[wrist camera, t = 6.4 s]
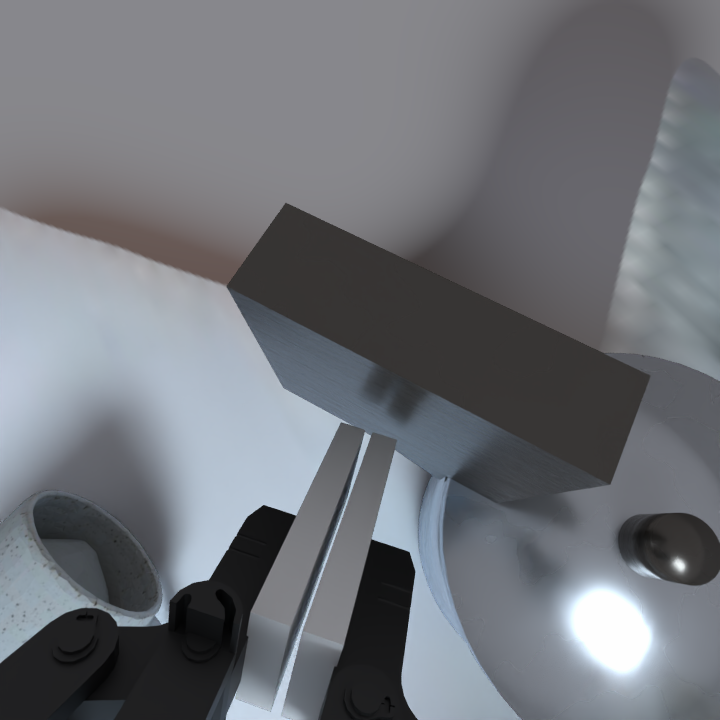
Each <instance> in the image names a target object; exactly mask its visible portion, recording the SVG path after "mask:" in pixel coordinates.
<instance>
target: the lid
mask: <svg viewBox="0 0 720 720" xmlns="http://www.w3.org/2000/svg"><path fill="white" fill-rule="evenodd" d="M227 288H228V290H229V292H230V294H231V295H232V297H233V299H234V301H235V302H236V304H237V306H238V308H239V310H240V311H241V313H242V315H243V317H244V318H245V320H246V322H247V324H248V326H249V327H250V329H251V331H252V333H253V334H254V336H255V338H256V340H257V342H258V343H259V345H260V347H261V349H262V350H263V352H264V354H265V356H266V358H267V359H268V361H269V363H270V365H271V367H272V368H273V370H274V372H275V374H276V375H277V377H278V379H279V381H280V383H281V384H282V386H283V388H285V389H287V390H288V391H290V392H292V393H294V394H296V395H298V396H299V397H301V398H303V399H305V400H307V401H309V402H310V403H312V404H314V405H316V406H318V407H320V408H322V409H323V410H325V411H327V412H329V413H331V414H333V415H334V416H336V417H338V418H340V419H342V420H344V421H345V422H347V423H349V424H351V425H353V426H355V427H358V428H361V429H364V430H365V432H366V433H367V434H369V435H372V433H373V432H374V433H377V434H380V435H384V436H387V437H390V438H393V439H397V442H396V446H395V449H397V450H399V451H401V452H402V453H404V454H406V455H408V456H410V457H412V458H413V459H415V460H417V461H419V462H421V463H423V464H424V465H426V466H428V467H430V468H432V469H434V470H435V471H437V472H439V473H441V474H443V475H445V476H447V480H446V484H445V488H444V492H443V496H442V504H441V513H440V521H439V533H440V556H441V563H442V571H443V578H444V581H445V585H446V589H447V593H448V597H449V601H450V605H451V607H452V610H453V613H454V615H455V618H456V621H457V623H458V626H459V628H460V631H461V633H462V635H463V637H464V639H465V641H466V643H467V645H468V647H469V649H470V651H471V652H472V654H473V656H474V658H475V660H476V661H477V663H478V664H479V666H480V667H481V669H482V670H483V672H484V673H485V675H486V676H487V678H488V679H489V681H490V682H491V684H492V685H493V686H494V688H495V689H496V690H497V691H498V692H499V694H500V695H501V696H502V697H503V698H504V699H505V701H506V702H507V703H508V704H509V705H510V706H511V708H512V709H513V710H514V711H515V712H516V713H517V715H518V716H519V717H520V718H521V719H522V720H720V381H718V380H716V379H714V378H712V377H710V376H708V375H707V374H704V373H702V372H699V371H697V370H694V369H692V368H689V367H687V366H684V365H682V364H678V363H675V362H671V361H668V360H664V359H661V358H656V357H650V356H644V355H638V354H625V353H602V352H600V351H598V350H596V349H593V348H591V347H589V346H587V345H585V344H583V343H581V342H579V341H576V340H574V339H572V338H570V337H568V336H566V335H564V334H562V333H559V332H557V331H555V330H553V329H551V328H549V327H547V326H545V325H543V324H541V323H538V322H536V321H534V320H532V319H530V318H528V317H526V316H524V315H521V314H519V313H517V312H515V311H513V310H511V309H509V308H507V307H505V306H503V305H500V304H498V303H496V302H494V301H492V300H490V299H488V298H486V297H483V296H481V295H479V294H477V293H475V292H473V291H471V290H469V289H467V288H464V287H462V286H460V285H458V284H456V283H454V282H452V281H450V280H448V279H445V278H443V277H441V276H439V275H437V274H435V273H433V272H431V271H428V270H427V269H424V268H422V267H420V266H418V265H416V264H414V263H412V262H409V261H407V260H405V259H403V258H401V257H399V256H397V255H395V254H393V253H390V252H388V251H386V250H384V249H382V248H380V247H378V246H376V245H374V244H371V243H369V242H367V241H365V240H363V239H361V238H359V237H357V236H355V235H353V234H350V233H348V232H346V231H344V230H342V229H340V228H338V227H336V226H333V225H331V224H329V223H327V222H325V221H323V220H321V219H319V218H317V217H315V216H312V215H310V214H308V213H306V212H304V211H302V210H300V209H297V208H296V207H293V206H291V205H289V204H287V203H285V205H284V206H283V208H282V209H281V210H280V212H279V213H278V215H277V216H276V217H275V219H274V220H273V222H272V223H271V224H270V226H269V227H268V229H267V230H266V232H265V233H264V234H263V236H262V237H261V239H260V240H259V242H258V243H257V244H256V246H255V247H254V248H253V250H252V251H251V253H250V254H249V255H248V257H247V258H246V260H245V261H244V262H243V264H242V265H241V267H240V268H239V269H238V271H237V272H236V274H235V275H234V277H233V278H232V279H231V281H230V282H229V284H228V285H227Z"/></svg>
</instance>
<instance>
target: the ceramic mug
mask: <svg viewBox="0 0 720 720" xmlns="http://www.w3.org/2000/svg"><path fill="white" fill-rule="evenodd" d="M162 595H163V594H162V588H161V583H160V580H159V577H158V573H157V571H156V569H155V567H154V565H153V563H152V562H151V560H150V558H149V557H148V556H147V554H146V552H145V551H144V549H143V547H142V546H141V545H140V543H139V542H138V541H137V540H136V539H135V538H134V536H133V535H132V534H131V533H130V532H129V530H128V529H126V528H125V527H124V526H123V525H122V524H121V523H120V522H119V521H118V520H117V519H115V518H114V517H112V516H111V515H110V514H109V513H108V512H107V511H105V510H104V509H102V508H101V507H99V506H97V505H96V504H95V503H93V502H92V501H90V500H86V499H84V498H82V497H79V496H78V495H75V494H71V493H68V492H63V491H59V490H46V491H42V492H39V493H36V494H34V495H32V496H31V497H30V498H28V499H27V500H26V501H24V502H23V503H22V504H21V505H20V506H19V507H18V508H17V509H16V510H15V511H14V512H12V513H11V514H10V515H9V516H8V517H7V518H6V519H5V520H4V521H3V522H2V523H1V524H0V663H1V662H2V661H3V660H4V659H6V658H7V657H8V656H9V655H11V654H12V653H13V652H14V651H16V650H17V649H18V648H19V647H20V646H22V645H23V644H24V643H25V642H27V641H28V640H29V639H30V638H31V637H33V636H34V635H35V634H36V633H38V632H39V631H40V630H41V629H42V628H44V627H45V626H46V625H47V624H49V623H50V622H51V621H53V620H55V619H56V618H58V617H59V616H61V615H63V614H64V613H66V612H70V611H73V610H76V609H80V608H98V609H101V610H103V611H105V612H108V613H109V614H110V615H111V616H112V617H113V618H114V620H115V621H116V622H117V626H146V627H148V626H158V625H161V623H160V622H159V620H158V619H157V618H156V617H155V615H156V613H157V612H158V611H159V609H160V606H161V603H162Z"/></svg>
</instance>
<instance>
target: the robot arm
mask: <svg viewBox="0 0 720 720" xmlns="http://www.w3.org/2000/svg"><path fill="white" fill-rule="evenodd" d="M364 433H365V430H364V429H361V428H358V427H354V426H351V425H348V424H345V423H341V424H340V426H339V428H338V430H337V432H336V434H335V436H334V438H333V440H332V442H331V444H330V447H329V449H328V451H327V453H326V455H325V457H324V459H323V461H322V463H321V465H320V468H319V470H318V472H317V474H316V476H315V478H314V480H313V482H312V484H311V486H310V488H309V491H308V493H307V495H306V497H305V499H304V501H303V503H302V505H301V507H300V509H299V512H298V514H297V516H295V515H292V514H289V513H286V512H283V511H280V510H277V509H274V508H271V507H268V506H265V505H263V506H262V507H260V508H259V509H258V510H256V511H255V512H253V513H252V514H251V515H249V516H248V517H247V518H246V520H245V522H244V523H243V525H242V527H241V528H240V530H239V532H238V534H237V536H236V537H235V538H234V540H233V541H232V543H231V545H230V546H229V549H228V550H227V551H226V553H225V555H224V556H223V558H222V560H221V561H220V563H219V565H218V566H217V568H216V569H215V571H214V573H213V574H212V576H211V578H210V579H209V580H207V581H202V582H196V583H192V584H191V585H189V586H187V587H185V588H183V589H181V590H180V591H179V592H178V593H177V594H176V595H175V596H174V597H173V598H172V599H171V600H170V609H169V623H165V624H162V625H158V626H148V627H146V626H117V622H116V621H115V620H114V618H113V617H112V616H111V615H110V614H109V613H108V612H105V611H103V610H101V609H98V608H80V609H76V610H73V611H70V612H66V613H64V614H63V615H61V616H59V617H58V618H56V619H55V620H53V621H51V622H50V623H49V624H47V625H46V626H45V627H44V628H42V629H41V630H40V631H39V632H38V633H36V634H35V635H34V636H33V637H31V638H30V639H29V640H28V641H27V642H25V643H24V644H23V645H22V646H20V647H19V648H18V649H17V650H16V651H14V652H13V653H12V654H11V655H9V656H8V657H7V658H6V659H4V660H3V661H2V662H1V663H0V720H226V714H227V712H228V709H229V707H230V705H231V702H232V700H233V698H234V696H235V693H236V691H237V693H236V699H238V700H241V701H243V702H246V703H249V704H251V705H254V706H257V707H259V708H262V709H265V710H267V711H270V712H271V709H272V706H273V703H274V701H275V698H276V695H277V692H278V689H279V687H280V684H281V681H282V678H283V676H284V673H285V670H286V667H287V664H288V662H289V659H290V656H291V653H292V650H293V648H294V645H295V642H296V639H297V636H298V634H299V631H300V628H301V625H302V622H303V620H304V617H305V614H306V611H307V609H308V606H309V603H310V600H311V597H312V595H313V592H314V589H315V586H316V583H317V581H318V578H319V575H320V572H321V569H322V567H323V564H324V561H325V558H326V555H327V553H328V550H329V547H330V544H331V542H332V539H333V536H334V533H335V530H336V528H337V525H338V522H339V519H340V516H341V514H342V511H343V508H344V505H345V502H346V500H347V496H348V493H349V489H350V485H351V481H352V478H353V474H354V470H355V466H356V463H357V459H358V455H359V451H360V448H361V444H362V440H363V436H364ZM396 442H397V439H393V438H390V437H387V436H384V435H380V434H377V433H374V432H373V433H372V435H371V438H370V441H369V444H368V447H367V450H366V452H365V455H364V458H363V461H362V464H361V467H360V470H359V472H358V475H357V478H356V481H355V484H354V487H353V489H352V492H351V495H350V498H349V501H348V504H347V506H346V509H345V512H344V515H343V518H342V521H341V523H340V526H339V529H338V532H337V535H336V538H335V540H334V543H333V546H332V549H331V552H330V555H329V558H328V560H327V563H326V566H325V569H324V572H323V575H322V577H321V580H320V583H319V586H318V589H317V592H316V594H315V597H314V600H313V603H312V606H311V609H310V611H309V614H308V617H307V620H306V623H305V626H304V628H303V632H302V635H301V639H300V643H299V647H298V651H297V655H296V659H295V663H294V667H293V671H292V675H291V679H290V683H289V687H288V691H287V695H286V699H285V703H284V706H283V710H282V714H281V716H283V717H286V718H289V719H291V720H418V719H417V718H416V717H415V716H414V714H413V713H412V711H411V710H410V708H409V706H408V704H407V702H406V700H405V697H404V694H403V689H402V685H401V672H402V665H403V658H404V651H405V643H406V636H407V629H408V622H409V614H410V612H409V611H410V607H411V600H412V592H413V585H414V578H415V569H414V566H413V562H412V559H411V556H410V552H408V551H405V550H402V549H399V548H396V547H393V546H390V545H387V544H384V543H381V542H378V541H375V540H372V539H371V538H372V535H373V531H374V527H375V523H376V519H377V515H378V511H379V508H380V504H381V500H382V496H383V492H384V488H385V485H386V481H387V477H388V473H389V469H390V465H391V462H392V458H393V454H394V450H395V446H396Z"/></svg>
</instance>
